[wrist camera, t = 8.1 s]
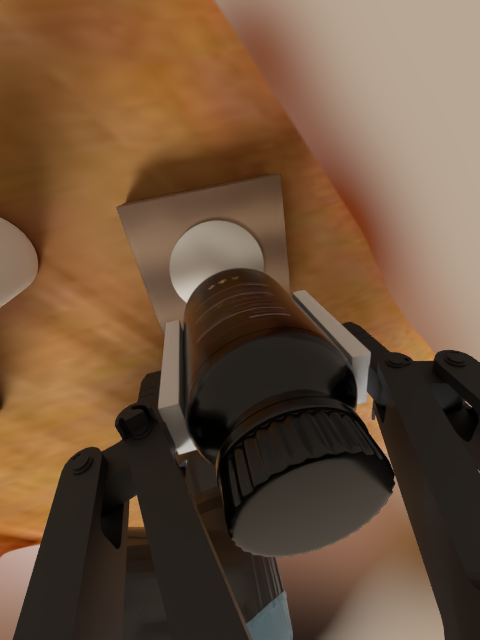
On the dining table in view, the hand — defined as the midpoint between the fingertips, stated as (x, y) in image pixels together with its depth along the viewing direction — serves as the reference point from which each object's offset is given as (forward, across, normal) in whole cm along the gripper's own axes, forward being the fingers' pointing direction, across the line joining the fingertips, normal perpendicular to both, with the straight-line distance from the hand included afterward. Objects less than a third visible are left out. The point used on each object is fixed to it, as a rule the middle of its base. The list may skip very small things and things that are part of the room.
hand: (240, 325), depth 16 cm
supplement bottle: (+2, 0, 0) cm, 2 cm away
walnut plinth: (+15, 0, 0) cm, 15 cm away
